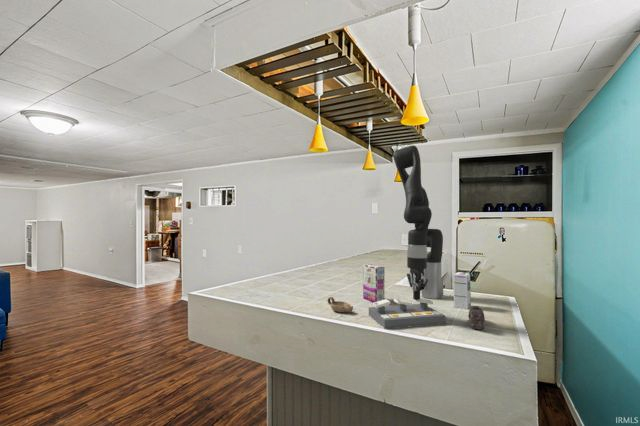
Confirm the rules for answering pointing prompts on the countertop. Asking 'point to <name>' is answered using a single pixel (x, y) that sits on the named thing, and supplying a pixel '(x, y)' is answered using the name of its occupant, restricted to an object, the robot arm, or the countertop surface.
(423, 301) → the rocker
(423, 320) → the switch console
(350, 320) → the countertop surface
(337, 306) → the oil lamp
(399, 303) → the middle rocker
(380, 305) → the rocker
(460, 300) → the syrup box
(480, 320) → the perforated stone tool
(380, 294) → the candy bar box
